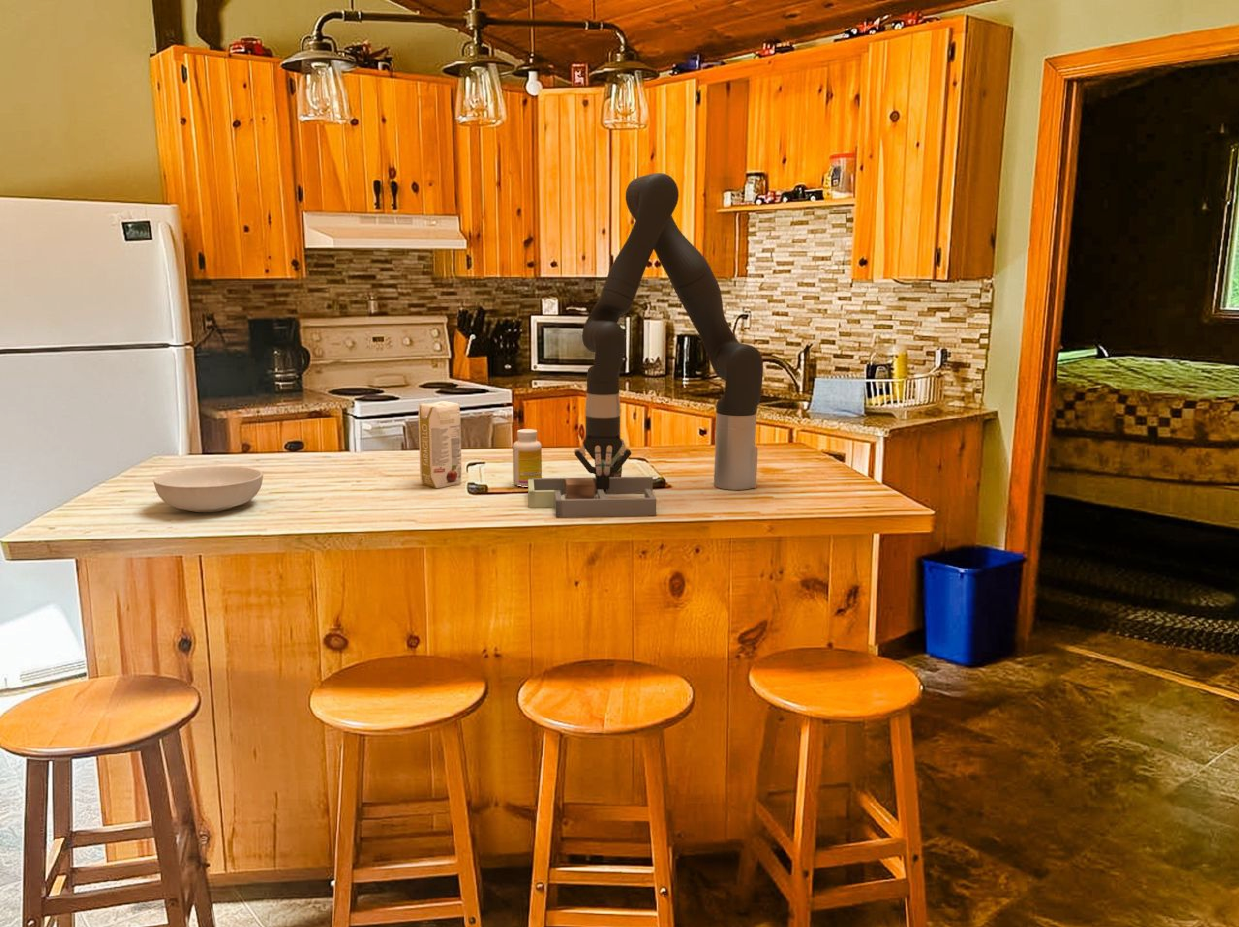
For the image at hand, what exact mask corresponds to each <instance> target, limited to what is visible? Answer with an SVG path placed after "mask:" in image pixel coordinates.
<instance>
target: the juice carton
mask: <svg viewBox="0 0 1239 927" xmlns="http://www.w3.org/2000/svg"><path fill="white" fill-rule="evenodd" d="M460 410H461V409H460V403H457V402H452V401H445V400H440V401H436V402H432V403H427V402H426V403H418V439H419V440H418V443H419V445H418V446H419V474H420V481H421V484H422V485H424V486H428V487H432V488H435V489H441V488H447V487H450V486H457V485H460V484H461V483H462V440H461V439H462V436H461V435H462V434H461V433H462V432H461V411H460Z"/></svg>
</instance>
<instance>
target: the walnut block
mask: <svg viewBox="0 0 1239 927" xmlns="http://www.w3.org/2000/svg"><path fill="white" fill-rule="evenodd" d="M565 478H566V479H565V494H564V495H565V499H596V498H595V496H596V494H595V484H594V481H593V479H592V478H590V477H565Z"/></svg>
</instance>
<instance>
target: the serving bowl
mask: <svg viewBox="0 0 1239 927" xmlns="http://www.w3.org/2000/svg"><path fill="white" fill-rule="evenodd" d="M263 479H264V473H263V472H262V471H261V470H260V469H255V468H252V467H248V466H237V465H236V466H233V465H227V466H226V465H218V466H217V465H215V466H213V465H211V466H197V467H190V468H189V467H188V468H183V469H178V470H170V471H167V472H165V473H162V474H158V475H157V476H156V477H154V478H153V485H154V488H155V491H156V494H157V496H158V497H159V498H160V499H161V500H162V501H163V502H164V503H165V504H167V505H168V506H171V507H172V508H176V509H179V510H185V511H189V512H192V513H193V512H194V513H195V512H196V513H215V512H222V511H223V512H224V511H227V510H229V509H232V508H235V507H237V506H240V505H244V504H245V503H247V502H249V501H251V500H252V499H254V498H255V497H256V496H257V494H258V493H259V492H260V490H261V487H262V485H263Z"/></svg>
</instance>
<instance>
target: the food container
mask: <svg viewBox="0 0 1239 927" xmlns="http://www.w3.org/2000/svg"><path fill="white" fill-rule="evenodd" d="M620 439H621V441H622V445H623V446H624V447H626V448H627V446H626V443H625V441H624V439H622V438H620ZM619 452H620V450H619V451H618V452H617V454H616V455H615V456H614V458H612V459H611V465H610V467H611V466H612V465H613V464H614V463H615V462H616V460H617V459H618V458H619V457H620V454H619ZM603 466H604V459H603V460H601V467H602V474H603ZM622 472H623V465H622V466H621V468H620V469H619V470H618V471H617V472H616V473H612V474H610V476H609V477H623V476H622ZM594 477H596V475H595V474H594Z"/></svg>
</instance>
